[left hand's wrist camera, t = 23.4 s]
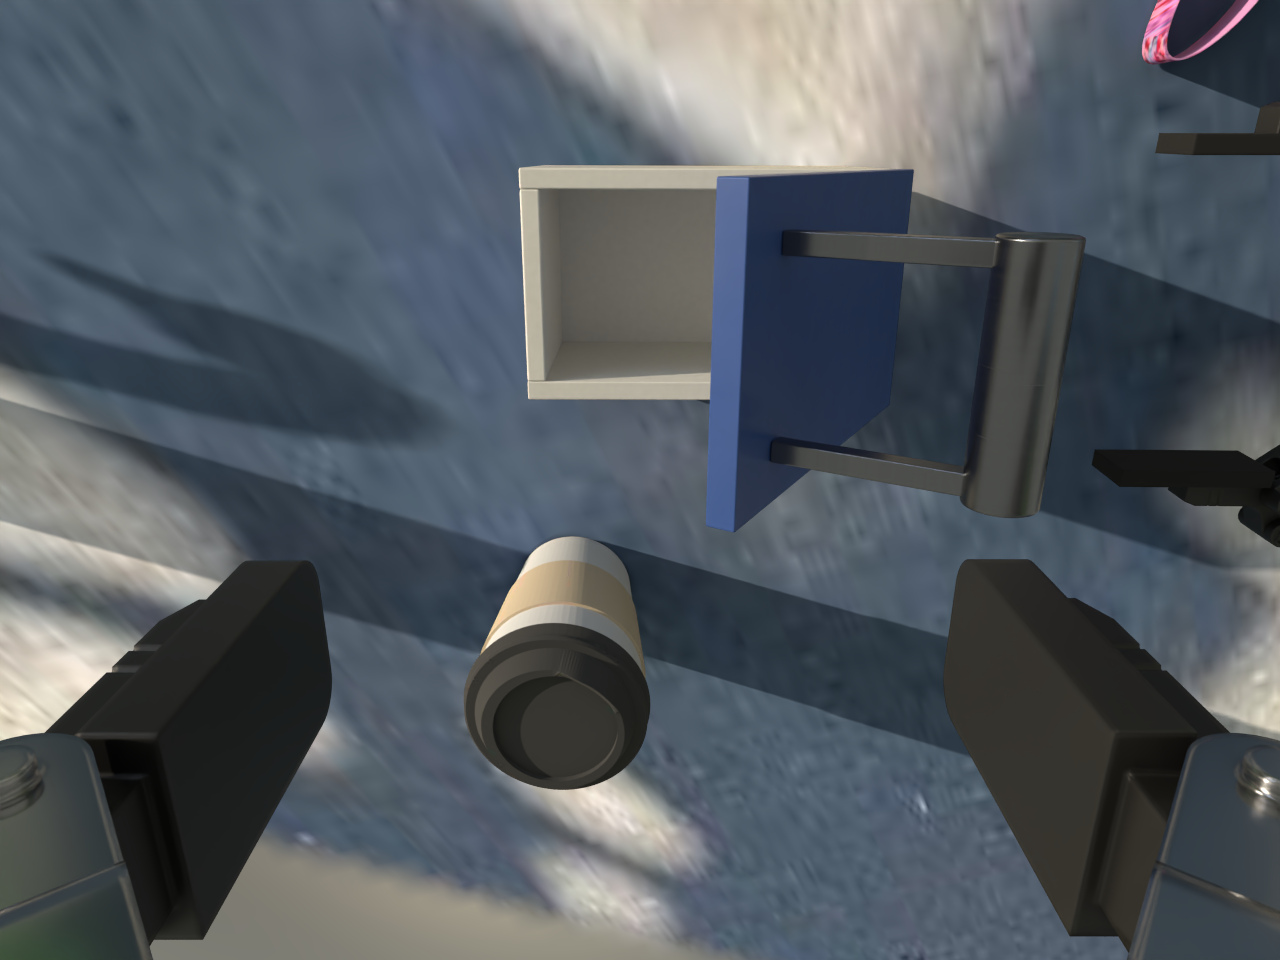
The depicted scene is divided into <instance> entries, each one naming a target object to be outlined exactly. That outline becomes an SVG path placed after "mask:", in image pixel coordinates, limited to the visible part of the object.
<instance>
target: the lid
mask: <svg viewBox="0 0 1280 960" xmlns="http://www.w3.org/2000/svg"><path fill="white" fill-rule="evenodd" d="M913 173H914V170H913V169H884V170H859V171H835V172H811V173H786V174H762V175H737V176H718V177H717V187H716V219H715V251H714V283H713V315H712V347H711V379H710V411H709V443H708V475H707V507H706V526H708V527H712V528H717V529H721V530H725V531H730V532H736V531H737V530H738V529H739V528H740V527H742V526H743V525H744V524H745V523H746V522H748V521H749V520H750V519H751V518H753V517H754V516H755V515H756V514H757V513H759V512H760V511H761V510H762V509H763V508H765V507H766V506H767V505H768V504H770V503H771V502H772V501H773V500H774V499H776V498H777V497H778V496H779V495H780V494H782V493H783V492H784V491H785V490H787V489H788V488H789V487H790V486H791V485H793V484H794V483H795V482H796V481H797V480H799V479H800V478H801V477H802V476H804V475H805V474H806V473H807V472H808V471H810V470H817V471H823V472H828V473H834V474H839V475H845V476H850V477H856V478H861V479H867V480H873V481H878V482H884V483H889V484H895V485H900V486H906V487H911V488H917V489H923V490H928V491H934V492H939V493H945V494H950V495H956V496H960V501H961V503H962V504H963V505H964V506H966V507H967V508H969V509H971V510H973V511H976V512H979V513H982V514H986V515H990V516H995V517H1003V518H1023V517H1029V516H1032V515H1034V514H1036V513H1037V512H1038V511H1039V509H1040V504H1041V499H1042V493H1043V487H1044V481H1045V476H1046V470H1047V464H1048V458H1049V452H1050V447H1051V441H1052V435H1053V429H1054V423H1055V418H1056V412H1057V406H1058V400H1059V394H1060V389H1061V383H1062V377H1063V371H1064V365H1065V360H1066V354H1067V348H1068V342H1069V336H1070V331H1071V325H1072V319H1073V313H1074V307H1075V302H1076V296H1077V290H1078V284H1079V278H1080V273H1081V267H1082V261H1083V255H1084V249H1085V244H1086V239H1085V237H1083V236H1080V235H1074V234H1065V233H1048V232H1005V233H1000V234H997V235H996V237H995V238H979V237H957V236H934V235H912V234H907V231H908V221H909V211H910V202H911V192H912V183H913ZM904 263H914V264H930V265H947V266H963V267H980V268H991V272H990V280H989V287H988V294H987V301H986V309H985V316H984V323H983V330H982V338H981V345H980V352H979V359H978V367H977V374H976V381H975V388H974V396H973V403H972V410H971V417H970V425H969V432H968V439H967V446H966V454H965V461H964V467H963V466H957V465H951V464H945V463H939V462H933V461H927V460H921V459H914V458H908V457H902V456H896V455H890V454H884V453H878V452H872V451H866V450H860V449H854V448H847V447H841V446H840V445H841V444H842V443H844V442H845V441H846V440H847V439H848V438H850V437H851V436H852V435H853V434H855V433H856V432H857V431H858V430H859V429H861V428H862V427H863V426H864V425H866V424H867V423H868V422H869V421H870V420H872V419H873V418H874V417H875V416H876V415H878V414H879V413H880V412H881V411H883V410H884V409H885V408H886V407H887V406H889V403H890V394H891V384H892V375H893V365H894V355H895V346H896V336H897V327H898V317H899V307H900V298H901V288H902V279H903V269H904Z"/></svg>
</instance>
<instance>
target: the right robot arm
mask: <svg viewBox="0 0 1280 960" xmlns="http://www.w3.org/2000/svg"><path fill="white" fill-rule="evenodd" d="M1155 153H1164V154H1183V155H1280V101H1278V102H1273V103H1270V104H1268V105H1265V106H1262V107H1261V108H1260V112H1259V116H1258V120H1257V124H1256V129H1255V133H1159V138H1158V142H1157V147H1156V152H1155ZM1092 465H1093V466H1094V467H1095V468H1097V469H1098V470H1099V471H1100V472H1102V473H1103V474H1104V475H1105V476H1107V477H1108V478H1109V479H1111V480H1112V481H1113V482H1114V483H1116V484H1117V485H1118V486H1119V487H1168V490H1169V491H1171V492H1172V493H1173V494H1175V495H1176V496H1178V497H1179V498H1180V499H1182V500H1183V501H1185V502H1187V503H1189V504H1192V505H1194V506H1207V505H1208V506H1243V507H1242V508H1241V509H1240V511H1239V514H1238V519H1239V521H1240V522H1241V523H1242V524H1244V525H1245V526H1247V527H1248V528H1249V529H1251V530H1252V531H1254V532H1255V533H1257V534H1258V535H1260V536H1261V537H1262V538H1264V539H1265V540H1267V541H1268V542H1270V543H1271V544H1273V545H1275V546H1276V547H1280V445H1278V446H1277V447H1275V448H1274V449H1272V450H1271V451H1269V452H1267V453H1266V454H1264V455H1263V456H1261V457H1259V458H1258V459H1256V460H1253V459H1252V458H1250V457H1248V456H1246V455H1244V454H1243V453H1241V452H1239V451H1211V450H1095V452H1094V456H1093V461H1092Z"/></svg>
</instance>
